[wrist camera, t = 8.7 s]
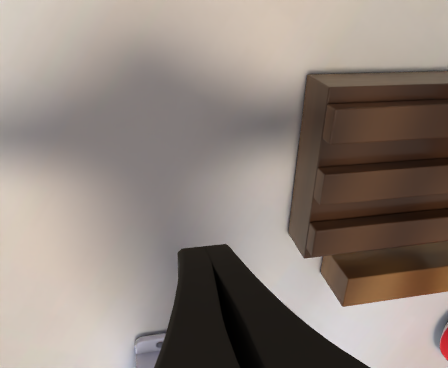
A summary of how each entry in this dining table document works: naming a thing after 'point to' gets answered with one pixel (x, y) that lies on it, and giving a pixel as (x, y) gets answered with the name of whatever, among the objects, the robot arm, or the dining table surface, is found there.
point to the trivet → (371, 163)
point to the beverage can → (444, 342)
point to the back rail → (387, 273)
